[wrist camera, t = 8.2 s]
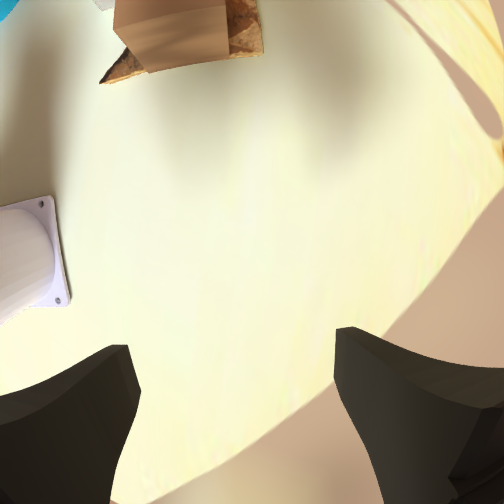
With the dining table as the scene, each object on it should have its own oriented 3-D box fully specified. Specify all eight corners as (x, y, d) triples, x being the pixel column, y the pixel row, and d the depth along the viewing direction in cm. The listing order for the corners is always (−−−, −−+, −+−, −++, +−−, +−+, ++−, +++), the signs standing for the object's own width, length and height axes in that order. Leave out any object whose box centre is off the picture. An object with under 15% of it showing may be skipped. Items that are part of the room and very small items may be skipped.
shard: (106, 90, 17) (96, 82, 15) (110, 9, 15) (102, -2, 14) (263, 63, 17) (265, 52, 16) (251, -16, 16) (252, -30, 14)
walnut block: (148, 73, 15) (113, 29, 9) (147, 14, 14) (119, -37, 8) (229, 58, 15) (225, 5, 10) (222, 0, 14) (216, -58, 9)
